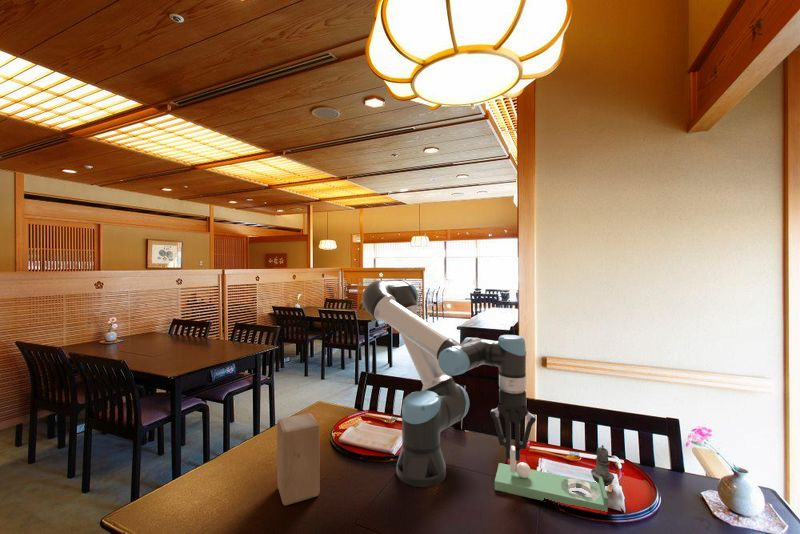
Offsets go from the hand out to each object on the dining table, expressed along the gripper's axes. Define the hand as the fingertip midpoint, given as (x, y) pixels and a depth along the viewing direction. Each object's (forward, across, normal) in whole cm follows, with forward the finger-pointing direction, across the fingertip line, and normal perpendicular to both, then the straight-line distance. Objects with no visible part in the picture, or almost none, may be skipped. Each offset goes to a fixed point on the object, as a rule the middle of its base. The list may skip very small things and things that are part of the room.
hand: (513, 470), depth 104 cm
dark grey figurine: (+4, +24, +9) cm, 26 cm away
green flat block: (+4, +9, 0) cm, 10 cm away
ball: (0, +3, 0) cm, 3 cm away
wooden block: (+4, -56, -27) cm, 62 cm away
